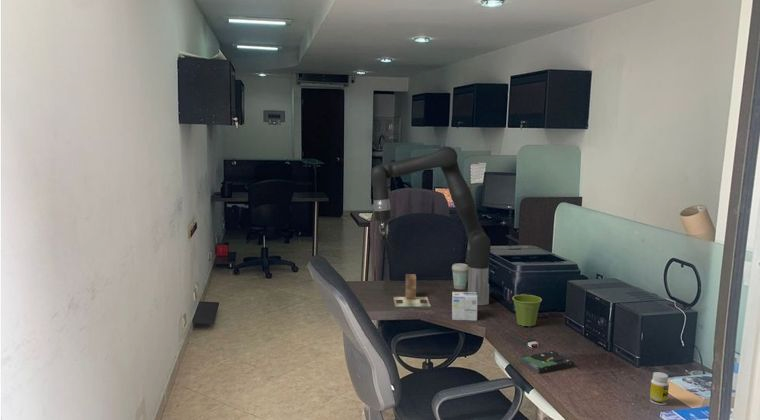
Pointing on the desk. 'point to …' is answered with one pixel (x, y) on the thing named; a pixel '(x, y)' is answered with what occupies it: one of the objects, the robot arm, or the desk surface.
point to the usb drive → (524, 339)
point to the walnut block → (410, 287)
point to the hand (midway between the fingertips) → (385, 244)
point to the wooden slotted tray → (411, 301)
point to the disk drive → (546, 362)
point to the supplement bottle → (659, 388)
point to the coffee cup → (460, 275)
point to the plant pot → (526, 309)
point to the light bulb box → (464, 306)
